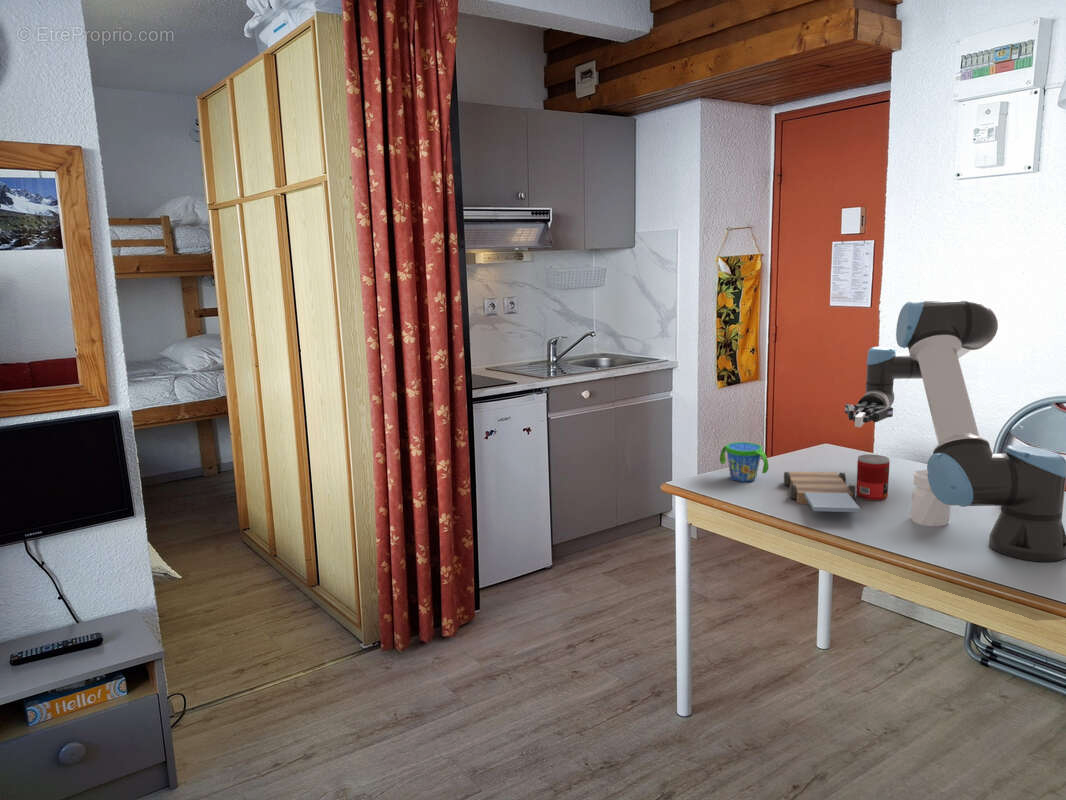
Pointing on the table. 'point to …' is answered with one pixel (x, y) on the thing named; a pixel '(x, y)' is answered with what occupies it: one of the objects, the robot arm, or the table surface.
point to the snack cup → (744, 460)
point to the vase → (927, 503)
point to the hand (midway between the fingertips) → (857, 422)
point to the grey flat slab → (831, 502)
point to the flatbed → (816, 484)
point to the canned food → (872, 477)
